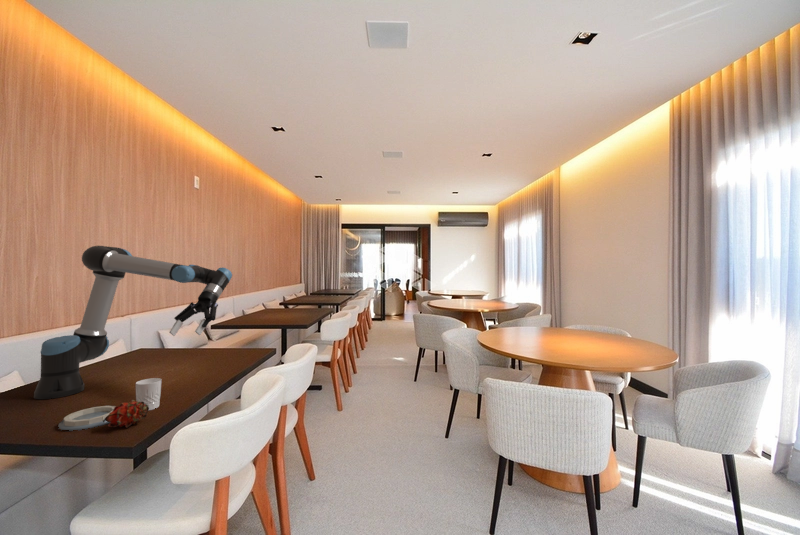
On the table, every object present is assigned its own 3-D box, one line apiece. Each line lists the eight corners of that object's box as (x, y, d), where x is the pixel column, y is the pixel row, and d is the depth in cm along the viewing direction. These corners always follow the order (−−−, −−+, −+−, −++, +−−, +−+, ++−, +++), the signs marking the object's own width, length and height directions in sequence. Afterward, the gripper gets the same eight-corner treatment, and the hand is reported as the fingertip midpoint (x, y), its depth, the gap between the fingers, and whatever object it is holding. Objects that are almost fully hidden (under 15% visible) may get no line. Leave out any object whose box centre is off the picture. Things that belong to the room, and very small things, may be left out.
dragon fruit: (152, 424, 117) (106, 441, 108) (146, 405, 121) (102, 420, 113) (151, 409, 113) (104, 426, 104) (145, 390, 117) (99, 404, 109)
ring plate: (44, 429, 110) (44, 421, 110) (96, 410, 126) (96, 403, 126) (85, 432, 107) (85, 424, 107) (133, 412, 123) (133, 405, 123)
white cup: (147, 412, 123) (147, 384, 123) (129, 411, 125) (129, 383, 125) (166, 404, 131) (166, 378, 131) (149, 403, 132) (149, 377, 133)
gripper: (237, 299, 159) (214, 338, 145) (193, 301, 166) (167, 339, 151) (227, 288, 154) (203, 327, 140) (183, 291, 161) (155, 329, 146)
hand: (184, 333), depth 145 cm, fingers open, 13 cm apart
